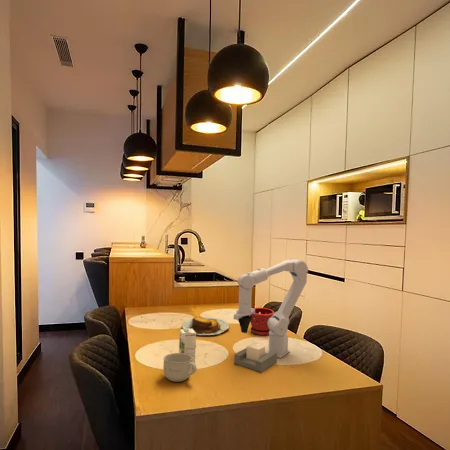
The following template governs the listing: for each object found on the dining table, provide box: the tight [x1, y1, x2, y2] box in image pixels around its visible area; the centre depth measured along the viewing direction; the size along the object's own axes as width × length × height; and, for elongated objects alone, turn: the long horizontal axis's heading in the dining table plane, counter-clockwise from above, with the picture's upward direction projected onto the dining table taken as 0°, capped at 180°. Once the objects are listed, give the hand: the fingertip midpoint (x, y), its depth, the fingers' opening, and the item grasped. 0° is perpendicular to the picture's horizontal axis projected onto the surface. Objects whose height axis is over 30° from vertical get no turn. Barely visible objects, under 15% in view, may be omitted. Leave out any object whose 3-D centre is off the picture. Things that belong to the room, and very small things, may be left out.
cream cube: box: [246, 342, 266, 361], centre depth 141 cm, size 5×6×6 cm
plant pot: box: [250, 307, 275, 336], centre depth 181 cm, size 13×13×12 cm
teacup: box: [163, 352, 197, 383], centre depth 125 cm, size 14×11×8 cm
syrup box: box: [178, 328, 197, 369], centre depth 136 cm, size 6×6×14 cm
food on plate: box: [181, 316, 230, 336], centre depth 184 cm, size 26×26×7 cm
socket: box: [233, 347, 278, 373], centre depth 141 cm, size 13×13×4 cm
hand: (244, 332), depth 148 cm, fingers closed
